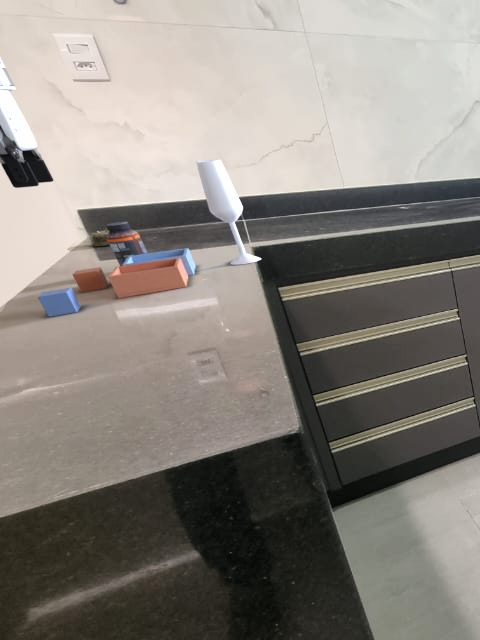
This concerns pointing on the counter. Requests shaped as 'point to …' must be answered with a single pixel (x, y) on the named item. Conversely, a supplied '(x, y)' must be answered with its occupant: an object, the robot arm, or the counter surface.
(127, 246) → the supplement bottle
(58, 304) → the slate-blue block
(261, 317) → the counter surface
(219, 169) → the champagne flute
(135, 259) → the blue bin
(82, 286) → the terracotta block
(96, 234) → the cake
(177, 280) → the terracotta bin
